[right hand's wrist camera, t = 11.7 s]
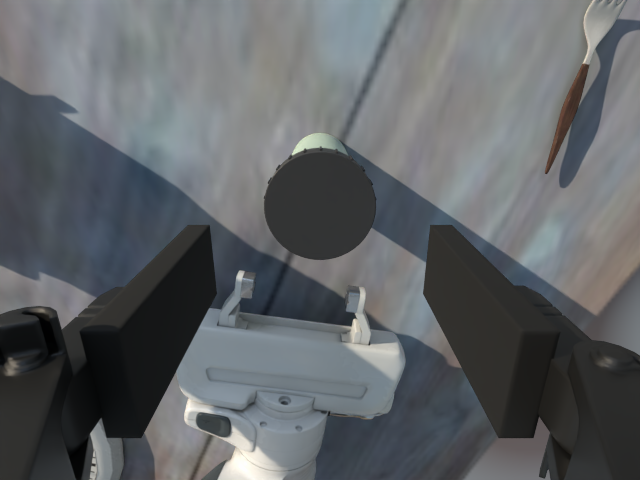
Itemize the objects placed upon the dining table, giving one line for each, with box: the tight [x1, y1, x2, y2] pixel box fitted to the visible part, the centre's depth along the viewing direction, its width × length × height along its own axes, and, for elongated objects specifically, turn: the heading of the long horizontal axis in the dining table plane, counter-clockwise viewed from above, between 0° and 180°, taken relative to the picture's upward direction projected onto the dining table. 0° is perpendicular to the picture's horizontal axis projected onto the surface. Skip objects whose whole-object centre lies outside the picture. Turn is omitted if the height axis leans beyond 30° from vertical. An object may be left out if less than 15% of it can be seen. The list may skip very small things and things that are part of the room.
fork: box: [545, 0, 627, 174], centre depth 31 cm, size 3×16×2 cm, turn 171°
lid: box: [264, 146, 376, 260], centre depth 21 cm, size 6×6×2 cm
